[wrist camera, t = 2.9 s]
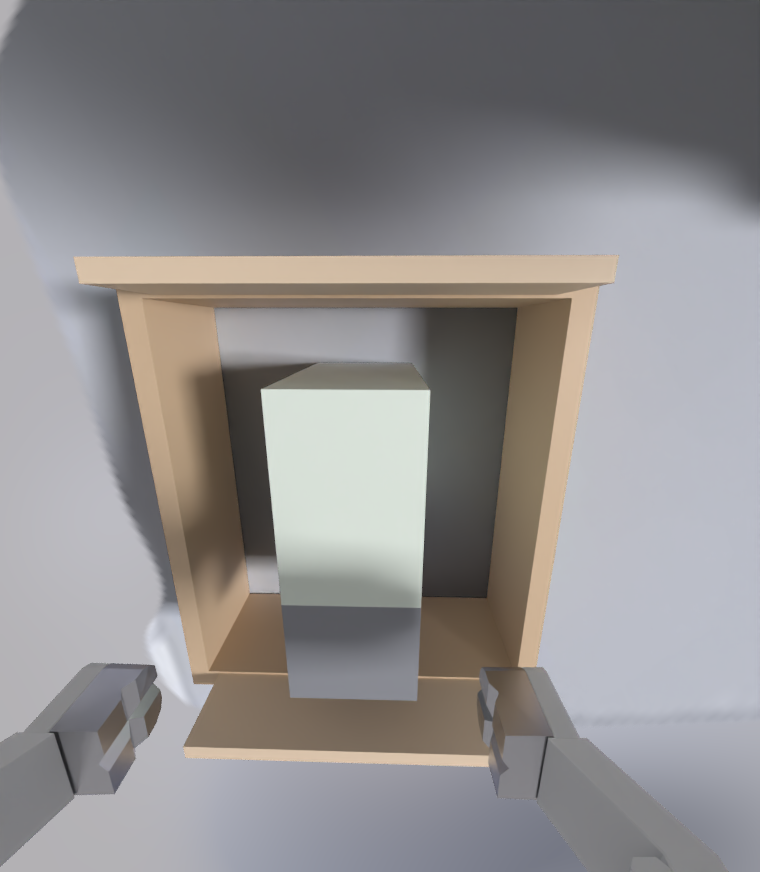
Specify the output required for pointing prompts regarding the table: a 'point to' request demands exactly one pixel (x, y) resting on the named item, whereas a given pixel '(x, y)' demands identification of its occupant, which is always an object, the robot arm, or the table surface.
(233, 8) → the table surface
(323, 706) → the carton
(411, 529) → the box
